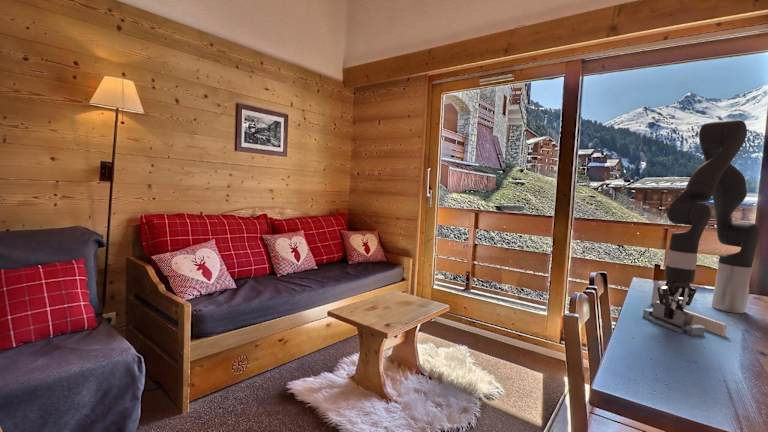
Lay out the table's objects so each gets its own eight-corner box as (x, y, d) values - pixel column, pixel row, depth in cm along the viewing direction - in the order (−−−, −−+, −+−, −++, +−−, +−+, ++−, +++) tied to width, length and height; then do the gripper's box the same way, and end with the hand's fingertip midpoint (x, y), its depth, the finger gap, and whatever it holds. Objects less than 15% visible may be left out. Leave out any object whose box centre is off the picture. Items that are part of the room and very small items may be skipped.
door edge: (667, 314, 133) (669, 304, 133) (725, 335, 116) (727, 324, 116) (664, 314, 133) (665, 304, 132) (721, 335, 116) (723, 324, 115)
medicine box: (675, 312, 136) (678, 288, 135) (661, 310, 137) (664, 287, 136) (663, 305, 144) (667, 282, 143) (650, 303, 145) (653, 281, 144)
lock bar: (659, 314, 128) (663, 300, 127) (689, 330, 118) (693, 315, 117) (651, 314, 127) (655, 301, 126) (680, 330, 117) (685, 315, 116)
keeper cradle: (657, 315, 131) (658, 308, 130) (707, 335, 115) (709, 327, 115) (639, 316, 129) (640, 309, 128) (688, 336, 113) (689, 328, 113)
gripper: (685, 263, 126) (677, 313, 127) (652, 262, 122) (644, 314, 123) (710, 268, 118) (701, 322, 120) (675, 268, 115) (667, 323, 116)
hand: (672, 318), depth 122 cm, fingers closed on lock bar, 3 cm apart
